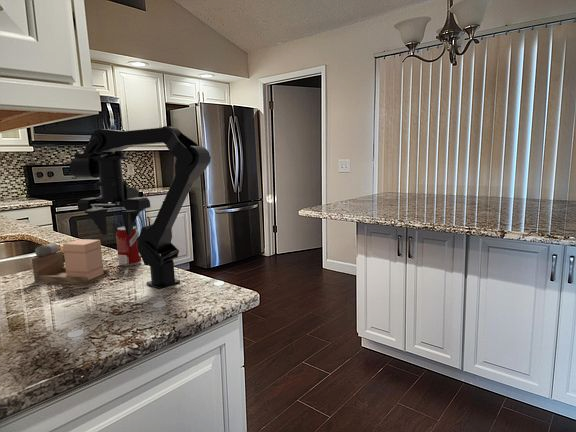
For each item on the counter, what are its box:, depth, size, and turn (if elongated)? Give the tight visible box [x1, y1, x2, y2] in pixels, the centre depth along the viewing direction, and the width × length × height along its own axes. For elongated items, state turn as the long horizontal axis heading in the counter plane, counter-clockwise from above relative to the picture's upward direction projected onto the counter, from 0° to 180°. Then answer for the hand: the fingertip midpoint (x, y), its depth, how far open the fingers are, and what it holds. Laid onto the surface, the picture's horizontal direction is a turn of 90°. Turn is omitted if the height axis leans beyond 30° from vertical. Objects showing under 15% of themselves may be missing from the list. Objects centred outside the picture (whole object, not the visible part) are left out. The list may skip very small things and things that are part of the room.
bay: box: [31, 242, 110, 286], centre depth 107 cm, size 18×9×10 cm, turn 77°
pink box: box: [62, 238, 104, 280], centre depth 106 cm, size 7×6×10 cm
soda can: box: [115, 225, 142, 267], centre depth 120 cm, size 7×7×12 cm
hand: (117, 235), depth 102 cm, fingers open, 7 cm apart
